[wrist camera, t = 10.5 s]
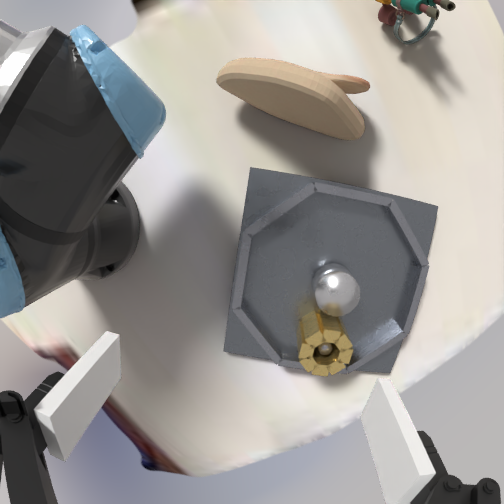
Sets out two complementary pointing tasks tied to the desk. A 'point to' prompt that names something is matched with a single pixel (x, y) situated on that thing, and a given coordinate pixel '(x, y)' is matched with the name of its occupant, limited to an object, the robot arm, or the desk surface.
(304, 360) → the planet gear
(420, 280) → the tray
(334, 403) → the desk surface
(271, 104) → the brown rounded piece
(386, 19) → the binoculars
